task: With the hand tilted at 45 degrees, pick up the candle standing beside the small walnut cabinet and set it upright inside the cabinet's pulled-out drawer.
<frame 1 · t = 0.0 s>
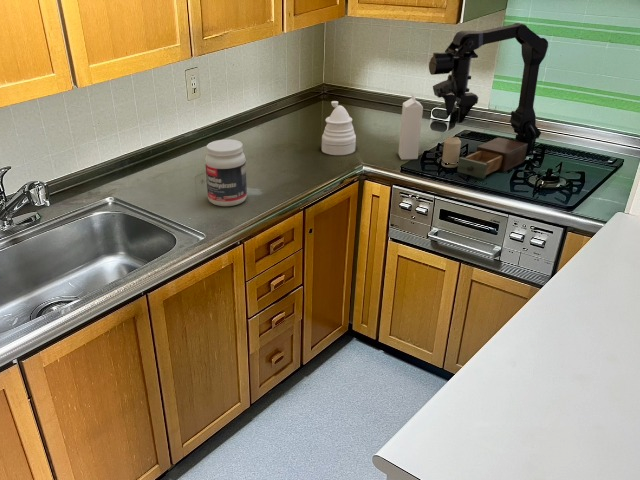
hand: (454, 118, 218), 15 cm above the counter, tool pointing down, fingers open, 9 cm apart
cabinet: (499, 163, 220), on the counter
milk: (407, 157, 230), on the counter
candle: (449, 165, 221), on the counter
honey pot: (338, 150, 241), on the counter
drawer: (480, 163, 211), point 3 cm above the counter, slide at 10.5 cm
supplement tub: (227, 200, 204), on the counter
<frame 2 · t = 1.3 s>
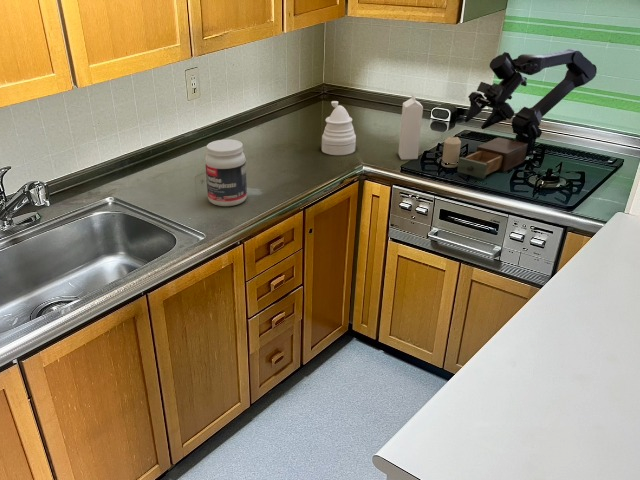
hand: (473, 124, 216), 13 cm above the counter, tool tilted 45°, fingers open, 9 cm apart
nothing on the counter moved.
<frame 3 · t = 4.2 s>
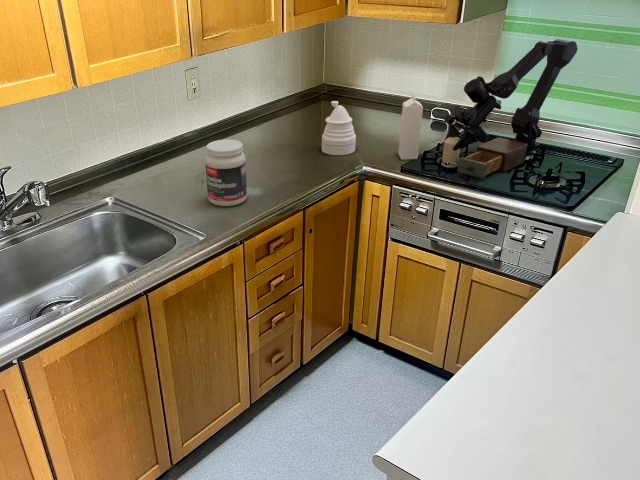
hand: (448, 147, 217), 7 cm above the counter, tool tilted 45°, fingers closed on candle, 5 cm apart
candle: (449, 165, 221), on the counter, touching gripper
everything else where it was.
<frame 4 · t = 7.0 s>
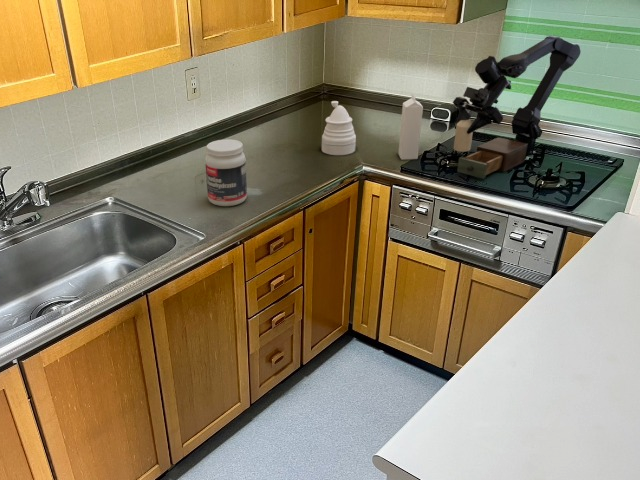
hand: (461, 131, 211), 13 cm above the counter, tool tilted 45°, fingers closed on candle, 5 cm apart
candle: (461, 149, 215), point 6 cm above the counter, touching gripper
everything else where it was.
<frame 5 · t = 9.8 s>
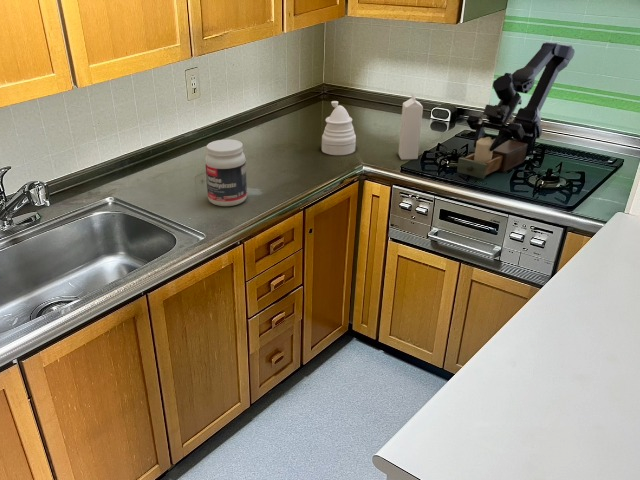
hand: (482, 148, 208), 9 cm above the counter, tool tilted 45°, fingers closed on candle, 5 cm apart
candle: (481, 167, 212), point 2 cm above the counter, touching drawer, gripper
drawer: (480, 164, 211), point 3 cm above the counter, slide at 10.7 cm, touching candle
everything else where it was.
when the fingers open (9 cm above the counter, at t = 10.0 s): candle stays where it is, resting on drawer.
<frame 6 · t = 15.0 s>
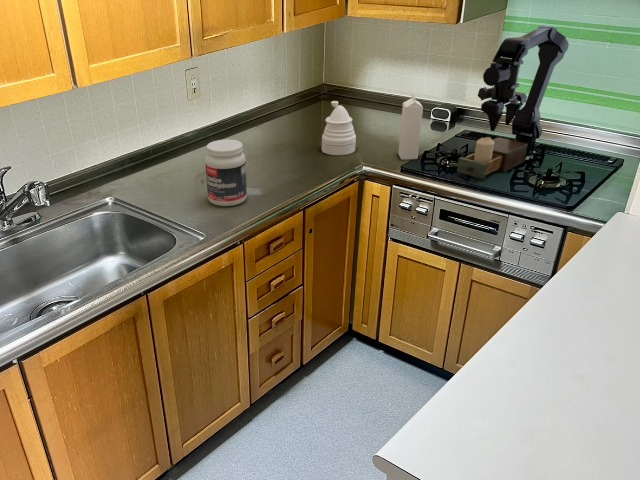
hand: (499, 127, 212), 13 cm above the counter, tool pointing down, fingers open, 9 cm apart
candle: (481, 167, 212), point 2 cm above the counter, touching drawer
everything else where it was.
at the end: candle 0.1 cm from the target spot in the drawer, point 1.8 cm above the cabinet's base; candle tilted 0°; candle touching drawer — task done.
